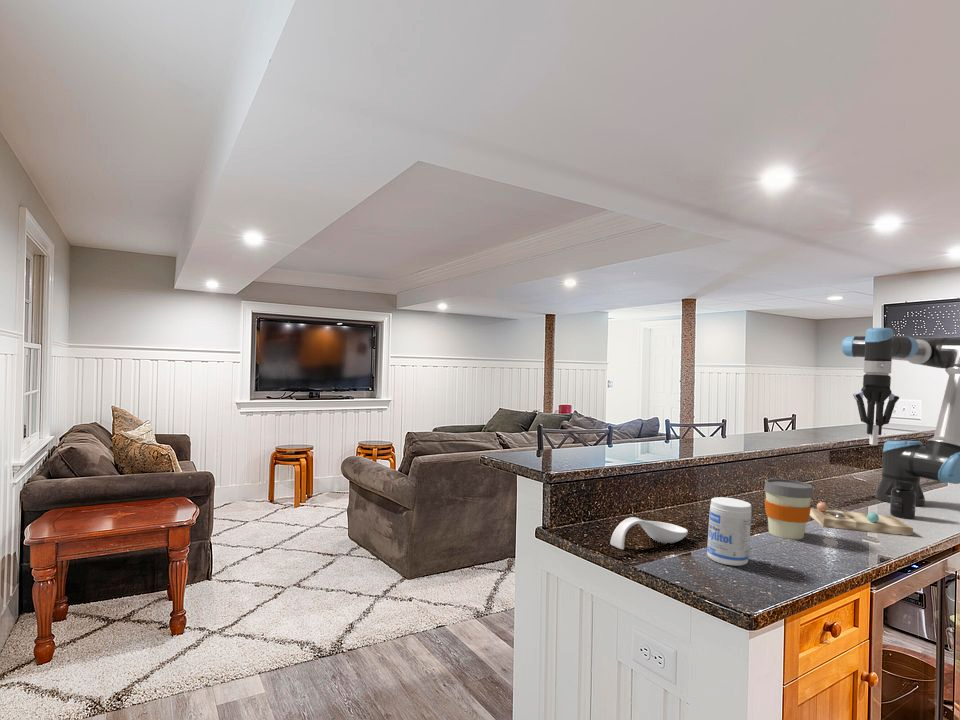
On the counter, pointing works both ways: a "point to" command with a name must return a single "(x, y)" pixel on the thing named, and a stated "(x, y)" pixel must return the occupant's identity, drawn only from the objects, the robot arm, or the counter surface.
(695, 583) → the counter surface
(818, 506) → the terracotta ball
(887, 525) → the maple board
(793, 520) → the reusable coffee cup
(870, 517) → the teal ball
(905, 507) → the supplement bottle
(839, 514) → the steel ball
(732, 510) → the supplement tub
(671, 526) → the spoon rest
